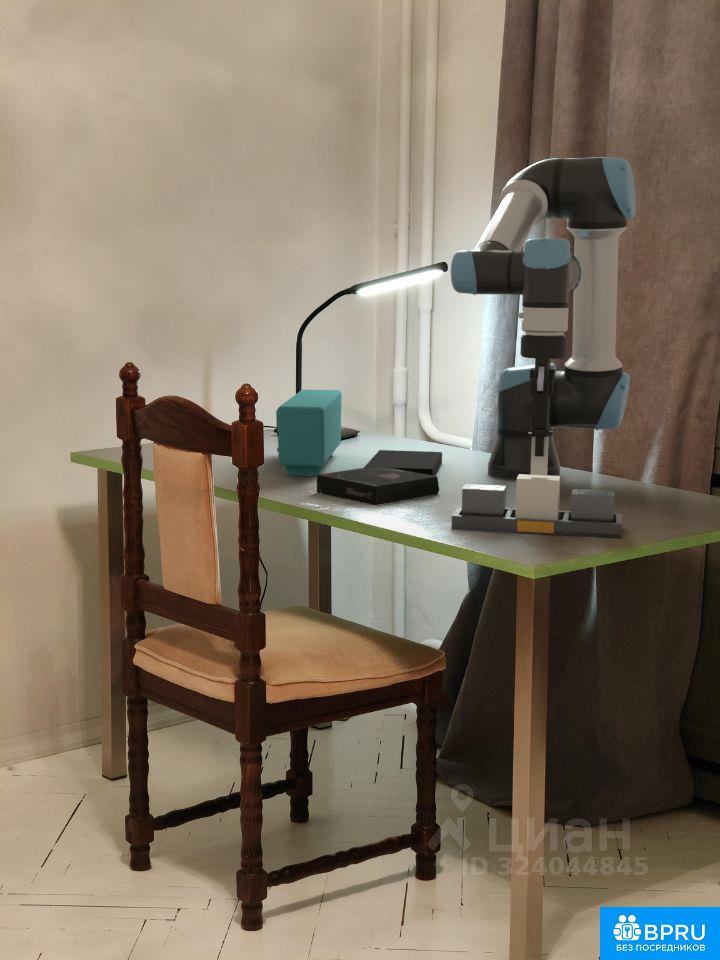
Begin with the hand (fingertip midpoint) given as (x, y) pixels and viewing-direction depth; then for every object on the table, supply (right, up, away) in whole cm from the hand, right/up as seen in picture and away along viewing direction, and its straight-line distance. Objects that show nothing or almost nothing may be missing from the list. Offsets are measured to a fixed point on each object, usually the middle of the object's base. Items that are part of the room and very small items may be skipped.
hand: (538, 474), depth 206 cm
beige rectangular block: (0, -8, +2) cm, 9 cm away
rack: (0, -9, +2) cm, 9 cm away
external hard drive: (-21, 0, +56) cm, 60 cm away
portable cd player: (-27, -4, +31) cm, 41 cm away
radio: (-41, +2, +63) cm, 75 cm away
